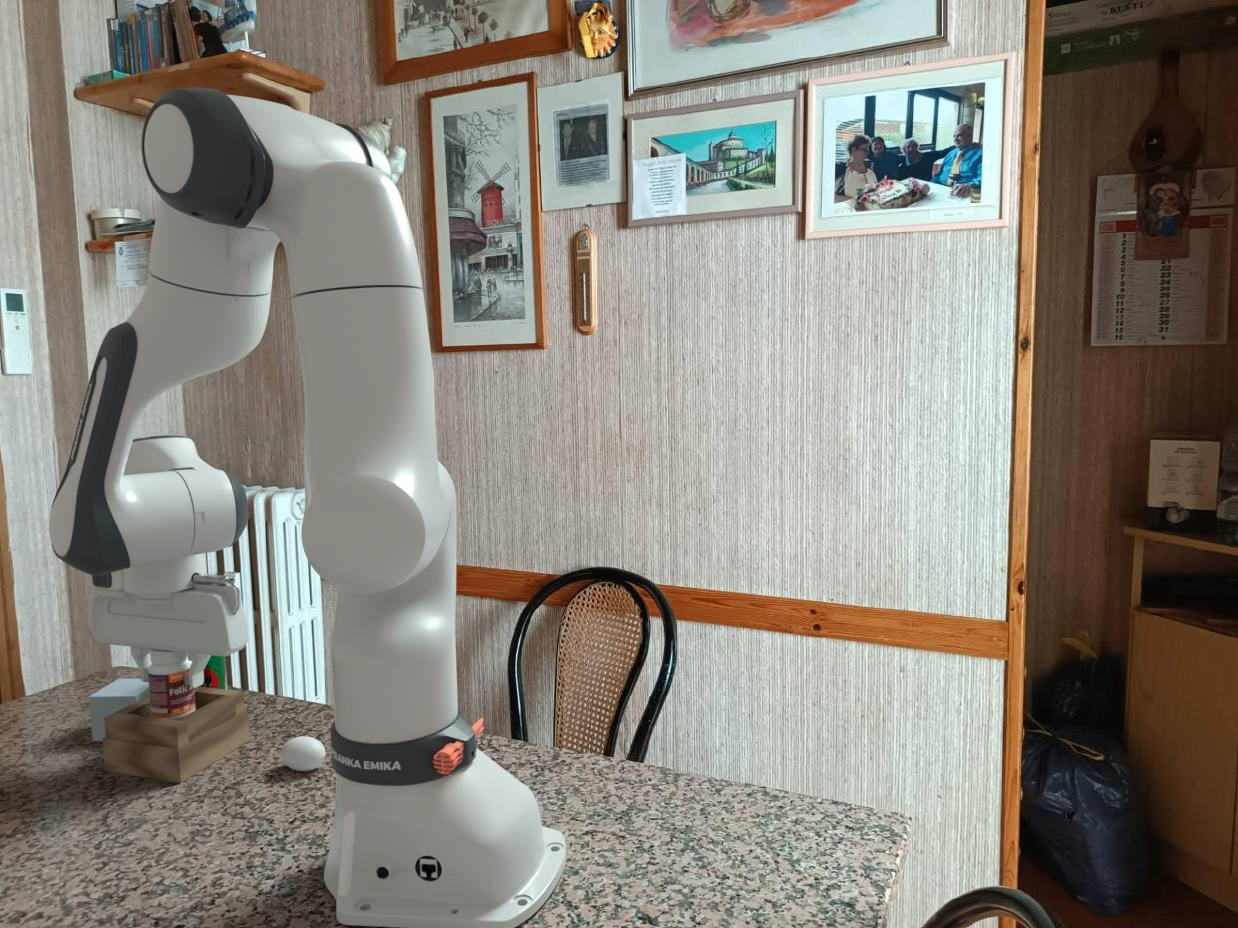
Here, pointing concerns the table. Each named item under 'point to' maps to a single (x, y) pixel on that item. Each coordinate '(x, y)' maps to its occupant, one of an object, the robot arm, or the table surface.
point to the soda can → (215, 673)
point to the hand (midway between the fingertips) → (172, 683)
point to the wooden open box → (175, 736)
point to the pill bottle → (169, 685)
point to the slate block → (114, 702)
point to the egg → (303, 753)
